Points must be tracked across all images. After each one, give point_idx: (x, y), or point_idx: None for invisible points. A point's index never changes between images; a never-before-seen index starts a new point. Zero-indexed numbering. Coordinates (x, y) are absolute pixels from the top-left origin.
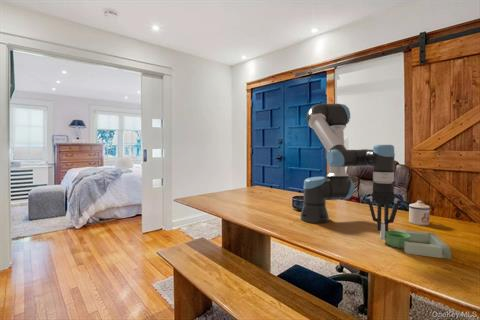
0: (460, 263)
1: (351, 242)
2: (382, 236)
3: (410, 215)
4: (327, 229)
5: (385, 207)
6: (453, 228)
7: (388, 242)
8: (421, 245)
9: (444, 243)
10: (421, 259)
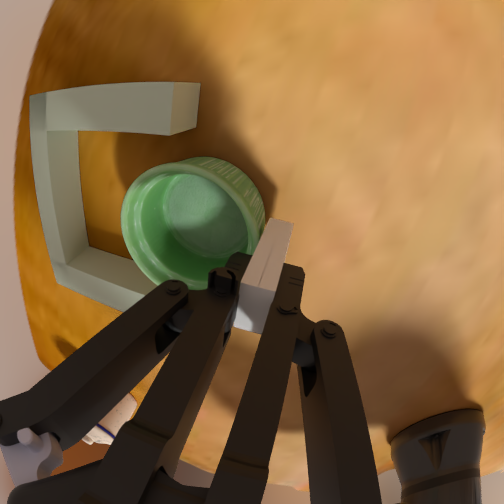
0: (51, 63)
1: (459, 219)
2: (281, 231)
3: (124, 415)
4: (464, 367)
5: (168, 436)
6: (56, 348)
7: (256, 194)
8: (103, 93)
9: (33, 164)
10: (154, 30)
